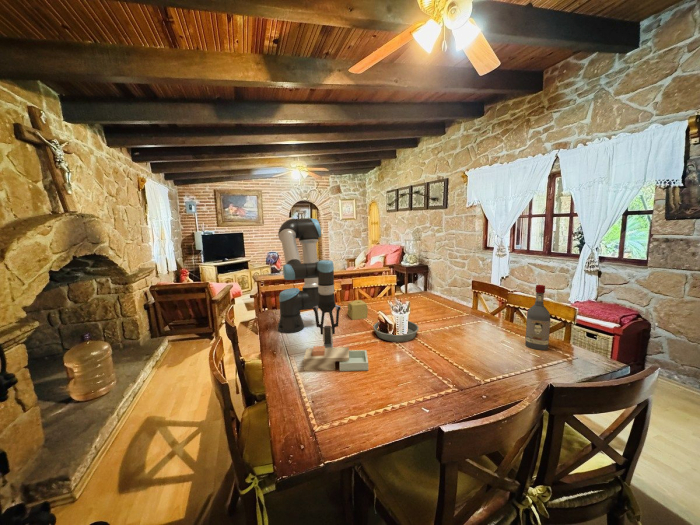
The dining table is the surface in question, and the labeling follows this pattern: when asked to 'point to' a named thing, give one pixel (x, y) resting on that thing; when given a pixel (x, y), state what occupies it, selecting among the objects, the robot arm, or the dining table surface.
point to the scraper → (328, 337)
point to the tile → (318, 350)
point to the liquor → (538, 323)
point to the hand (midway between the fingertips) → (328, 340)
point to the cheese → (357, 310)
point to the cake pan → (398, 338)
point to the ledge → (325, 359)
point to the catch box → (355, 361)
